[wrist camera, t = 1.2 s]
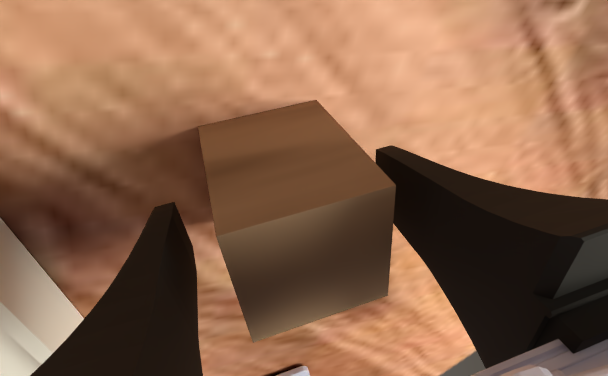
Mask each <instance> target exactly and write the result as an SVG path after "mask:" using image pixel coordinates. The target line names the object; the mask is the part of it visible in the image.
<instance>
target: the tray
mask: <svg viewBox="0 0 608 376" xmlns="http://www.w3.org/2000/svg"><path fill="white" fill-rule="evenodd" d="M83 320H84V318H83V317H82V316H81V314H80V313H79V312H78V311H77V310H76V308H75V307H74V306H73V305H72V304H71V302H70V301H69V300H68V299H67V298H66V296H65V295H64V294H63V293H62V291H61V290H60V289H59V288H58V287H57V285H56V284H55V283H54V282H53V281H52V279H51V278H50V277H49V276H48V275H47V273H46V272H45V271H44V270H43V269H42V267H41V266H40V265H39V264H38V263H37V261H36V260H35V259H34V258H33V256H32V255H31V254H30V253H29V252H28V250H27V249H26V248H25V247H24V246H23V244H22V243H21V242H20V241H19V240H18V238H17V237H16V236H15V235H14V234H13V232H12V231H11V230H10V229H9V227H8V226H7V225H6V224H5V223H4V221H3V220H2V219H1V218H0V376H30V375H31V374H32V373H33V372H34V371H35V370H36V369H37V368H38V367H39V366H40V365H42V364H43V363H44V362H45V361H46V360H47V359H48V358H49V357H50V356H51V355H52V354H53V353H54V352H55V351H56V349H57V348H58V347H59V346H60V345H61V344H62V343H63V342H64V341H65V340H66V339H67V338H68V337H69V336H70V335H71V333H72V332H73V331H74V330H75V329H76V328H77V327H78V325H79V324H80V323H81V322H82V321H83Z"/></svg>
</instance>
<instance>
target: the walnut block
mask: <svg viewBox="0 0 608 376" xmlns="http://www.w3.org/2000/svg"><path fill="white" fill-rule="evenodd" d="M198 131H199V137H200V143H201V149H202V155H203V161H204V167H205V173H206V179H207V185H208V191H209V197H210V203H211V209H212V215H213V221H214V227H215V232H216V237H217V240H218V243H219V246H220V249H221V252H222V255H223V258H224V260H225V263H226V266H227V269H228V272H229V275H230V278H231V281H232V284H233V286H234V289H235V292H236V295H237V298H238V301H239V304H240V307H241V309H242V312H243V315H244V318H245V321H246V324H247V327H248V330H249V333H250V335H251V338H252V341H253V342H256V341H259V340H262V339H265V338H268V337H271V336H273V335H276V334H279V333H282V332H285V331H288V330H291V329H293V328H296V327H299V326H302V325H305V324H308V323H311V322H313V321H316V320H319V319H322V318H325V317H328V316H331V315H333V314H336V313H339V312H342V311H345V310H348V309H351V308H353V307H356V306H359V305H362V304H365V303H368V302H371V301H374V300H376V299H379V298H382V297H385V296H388V285H389V271H390V258H391V245H392V231H393V218H394V205H395V192H396V185H395V184H394V182H393V181H392V180H391V179H390V178H389V177H388V176H387V175H386V174H385V173H384V172H383V171H382V170H381V169H380V167H379V166H378V165H377V164H376V163H375V162H374V161H373V160H372V159H371V158H370V157H369V156H368V155H367V154H366V153H365V151H364V150H363V149H362V148H361V147H360V146H359V145H358V144H357V143H356V142H355V141H354V140H353V139H352V138H351V136H350V135H349V134H348V133H347V132H346V131H345V130H344V129H343V128H342V127H341V126H340V125H339V124H338V123H337V122H336V120H335V119H334V118H333V117H332V116H331V115H330V114H329V113H328V112H327V111H326V110H325V109H324V108H323V107H322V105H321V104H320V103H319V102H318V101H317V100H314V101H310V102H305V103H301V104H296V105H292V106H287V107H283V108H279V109H274V110H270V111H265V112H261V113H256V114H252V115H247V116H243V117H238V118H234V119H229V120H225V121H220V122H216V123H212V124H207V125H203V126H198Z"/></svg>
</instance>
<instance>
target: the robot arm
mask: <svg viewBox="0 0 608 376" xmlns="http://www.w3.org/2000/svg"><path fill="white" fill-rule="evenodd" d="M376 164H377V165H378V166H379V167H380V169H381V170H382V171H383V172H384V173H385V174H386V175H387V176H388V177H389V178H390V179H391V180H392V181H393V182H394V184H395V185H396V192H395V205H394V218H393V223H394V225H395V226H396V227H397V228H398V230H399V231H400V232H401V233H402V235H403V236H404V237H405V238H406V240H407V241H408V242H409V243H410V245H411V246H412V247H413V248H414V250H415V251H416V252H417V253H418V255H419V256H420V257H421V258H422V260H423V261H424V262H425V264H426V265H427V267H428V268H429V269H430V271H431V273H432V274H433V276H434V277H435V279H436V280H437V282H438V284H439V285H440V287H441V288H442V290H443V292H444V293H445V295H446V297H447V298H448V300H449V302H450V303H451V305H452V307H453V308H454V310H455V312H456V313H457V315H458V317H459V319H460V321H461V322H462V324H463V326H464V328H465V330H466V331H467V333H468V335H469V337H470V339H471V340H472V342H473V344H474V346H475V348H476V350H477V352H478V354H479V356H480V358H481V360H482V362H483V364H484V366H485V368H486V369H485V370H482V371H480V372H478V373H475V374H473V375H470V376H608V200H606V199H593V198H580V197H572V196H564V195H556V194H549V193H543V192H537V191H532V190H527V189H521V188H516V187H512V186H507V185H503V184H499V183H496V182H492V181H488V180H484V179H481V178H478V177H474V176H471V175H468V174H465V173H462V172H459V171H456V170H454V169H451V168H448V167H446V166H443V165H440V164H438V163H435V162H433V161H430V160H428V159H425V158H423V157H420V156H418V155H416V154H413V153H411V152H408V151H406V150H403V149H400V148H398V147H395V146H387V147H383V148H380V149H376ZM30 376H203V373H202V366H201V358H200V350H199V339H198V306H197V271H196V264H195V258H194V252H193V246H192V243H191V241H190V239H189V236H188V234H187V231H186V229H185V226H184V224H183V222H182V219H181V217H180V214H179V212H178V210H177V207H176V205H175V202H172V203H168V204H165V205H161V206H157V207H155V208H154V210H153V211H152V213H151V215H150V217H149V219H148V221H147V223H146V225H145V227H144V229H143V231H142V233H141V235H140V237H139V239H138V241H137V243H136V244H135V246H134V248H133V250H132V252H131V253H130V255H129V257H128V259H127V260H126V262H125V263H124V265H123V267H122V268H121V270H120V271H119V273H118V275H117V276H116V278H115V279H114V281H113V282H112V284H111V285H110V287H109V288H108V290H107V291H106V292H105V294H104V295H103V296H102V298H101V299H100V300H99V302H98V303H97V304H96V305H95V307H94V308H93V309H92V310H91V312H90V313H89V314H88V315H87V316H86V317H85V319H84V320H83V321H82V322H81V323H80V324H79V325H78V327H77V328H76V329H75V330H74V331H73V332H72V333H71V335H70V336H69V337H68V338H67V339H66V340H65V341H64V342H63V343H62V344H61V345H60V346H59V347H58V348H57V349H56V351H55V352H54V353H53V354H52V355H51V356H50V357H49V358H48V359H47V360H46V361H45V362H44V363H43V364H42V365H40V366H39V367H38V368H37V369H36V370H35V371H34V372H33V373H32V374H31V375H30ZM276 376H310V375H309V371H308V368H307V367H306V366H300V367H297V368H295V369H292V370H289V371H286V372H284V373H281V374H278V375H276Z"/></svg>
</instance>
